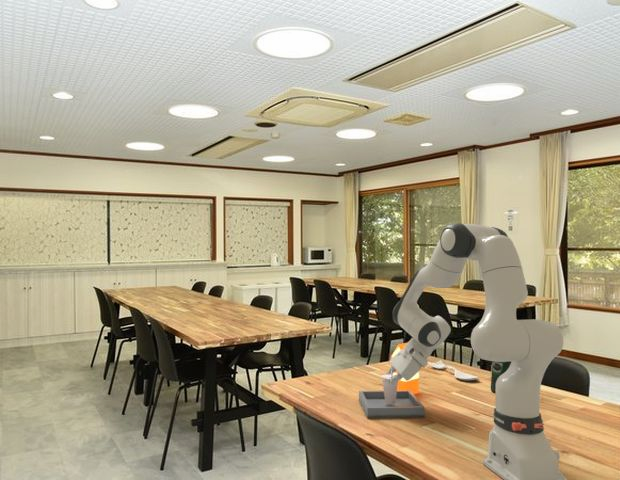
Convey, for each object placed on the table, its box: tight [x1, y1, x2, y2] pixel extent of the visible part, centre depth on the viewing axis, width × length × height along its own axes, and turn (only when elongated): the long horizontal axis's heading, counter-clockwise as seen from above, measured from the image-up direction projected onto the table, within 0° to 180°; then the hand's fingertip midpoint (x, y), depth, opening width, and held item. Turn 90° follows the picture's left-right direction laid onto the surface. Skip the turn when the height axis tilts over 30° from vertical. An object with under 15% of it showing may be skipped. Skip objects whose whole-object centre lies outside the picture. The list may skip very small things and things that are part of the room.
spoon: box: [427, 359, 480, 382], centre depth 227 cm, size 9×32×4 cm, turn 19°
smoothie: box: [380, 364, 398, 405], centre depth 178 cm, size 6×6×14 cm
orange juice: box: [390, 342, 420, 395], centre depth 198 cm, size 8×9×20 cm
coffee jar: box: [490, 361, 512, 394], centre depth 198 cm, size 10×8×19 cm
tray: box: [358, 390, 426, 419], centre depth 178 cm, size 20×20×4 cm
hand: (388, 380), depth 178 cm, fingers closed on smoothie, 6 cm apart
